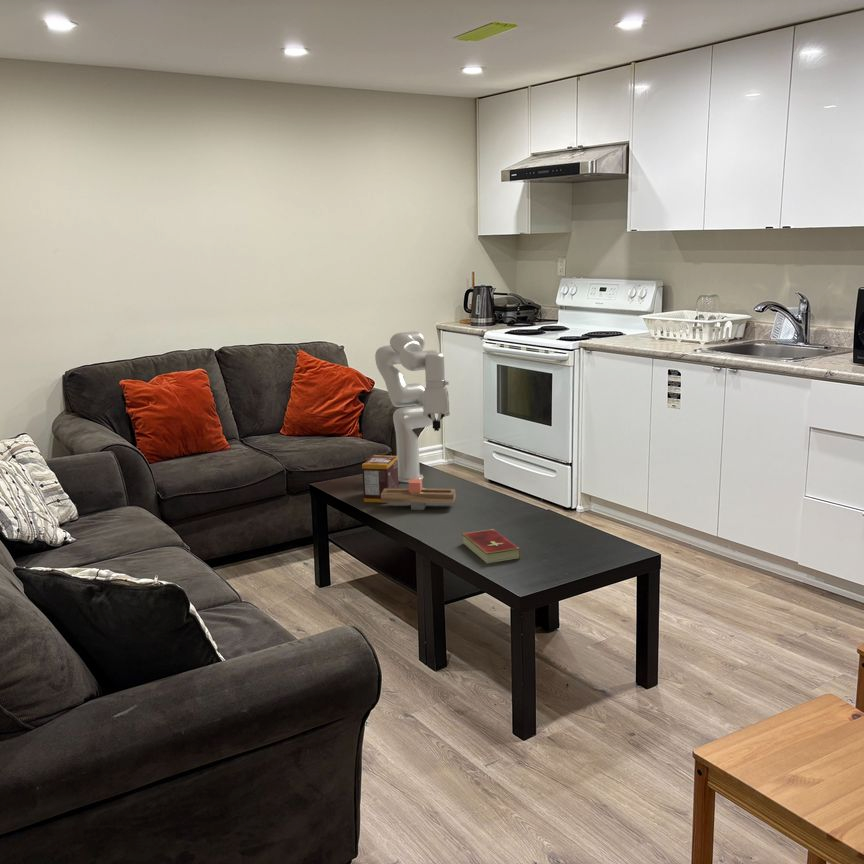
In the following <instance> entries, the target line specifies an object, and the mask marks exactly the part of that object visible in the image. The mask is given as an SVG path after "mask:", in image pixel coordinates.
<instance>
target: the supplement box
mask: <svg viewBox="0 0 864 864" xmlns="http://www.w3.org/2000/svg"><path fill="white" fill-rule="evenodd" d="M361 468H362V469H361V470H362V489H363V490H362V491H363V502H364V503H382V504H388V503H390V502H381V493H382V491H383V490H384V488H399V483H400V482H398V459H397V455H381V454H380V455H377V454H376V455H375V454H373V455H372V456H371V457H370V458H368V459H367V460H366V461H365V462H364V463H362V465H361Z"/></svg>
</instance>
